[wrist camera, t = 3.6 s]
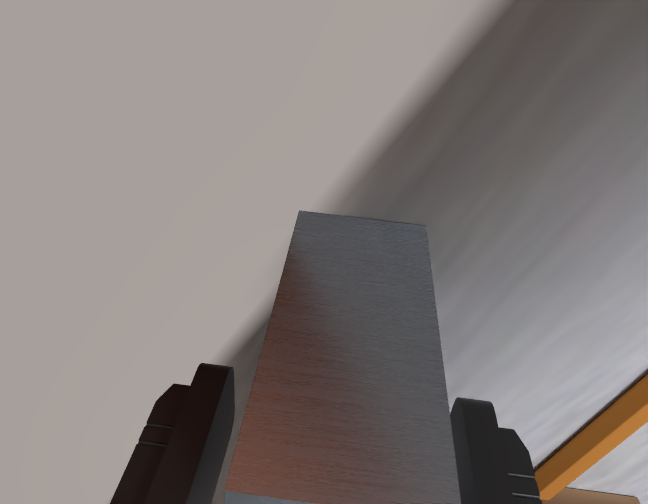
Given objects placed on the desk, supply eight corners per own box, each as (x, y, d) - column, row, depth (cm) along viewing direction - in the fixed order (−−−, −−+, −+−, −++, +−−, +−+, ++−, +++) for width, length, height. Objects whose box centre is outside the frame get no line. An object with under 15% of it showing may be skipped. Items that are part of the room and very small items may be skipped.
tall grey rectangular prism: (299, 210, 12) (223, 491, 6) (425, 226, 12) (463, 524, 6) (286, 401, 16) (233, 679, 10) (381, 414, 16) (380, 701, 10)
